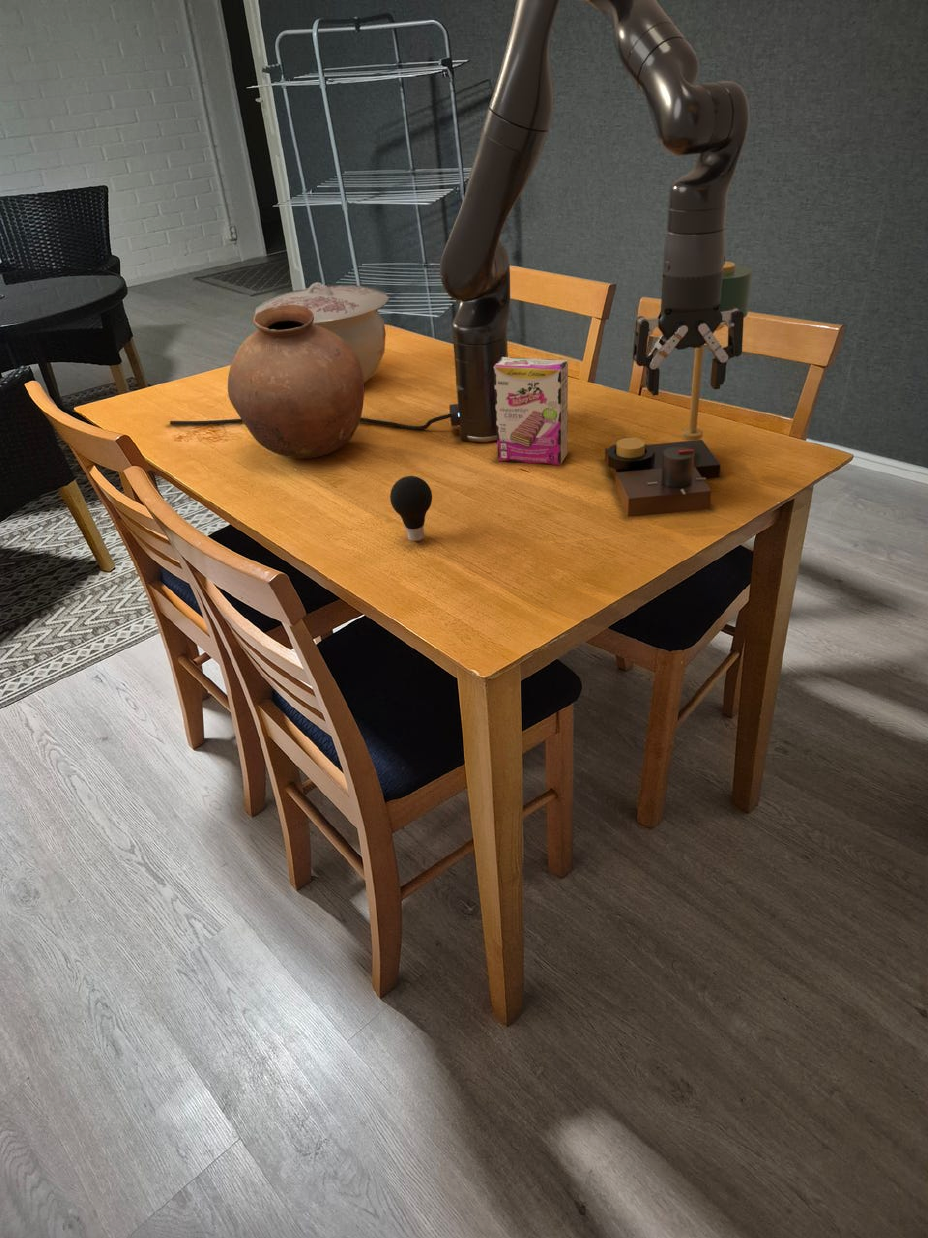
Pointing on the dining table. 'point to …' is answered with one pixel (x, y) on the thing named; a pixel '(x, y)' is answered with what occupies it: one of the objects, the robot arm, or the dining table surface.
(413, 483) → the light bulb
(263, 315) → the pottery
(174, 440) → the dining table surface
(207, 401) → the dining table surface
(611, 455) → the lamp base
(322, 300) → the chamber pot
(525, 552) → the dining table surface
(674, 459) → the dimmer knob
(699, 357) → the desk lamp
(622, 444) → the button
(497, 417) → the candy bar box
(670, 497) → the dimmer panel
